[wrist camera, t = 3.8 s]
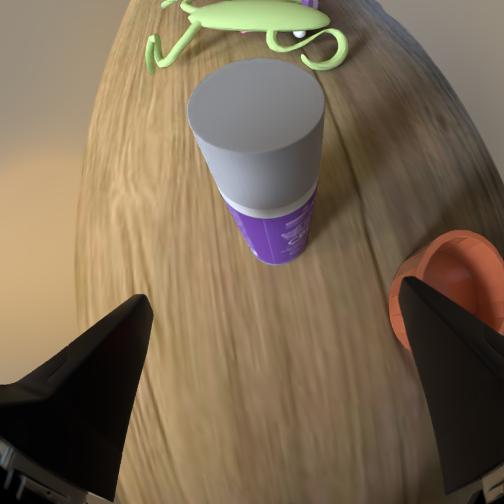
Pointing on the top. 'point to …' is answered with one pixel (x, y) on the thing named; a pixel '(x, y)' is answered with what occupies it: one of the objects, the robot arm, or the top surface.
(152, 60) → the figurine
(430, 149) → the top surface
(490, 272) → the orange-brown bowl
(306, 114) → the container
